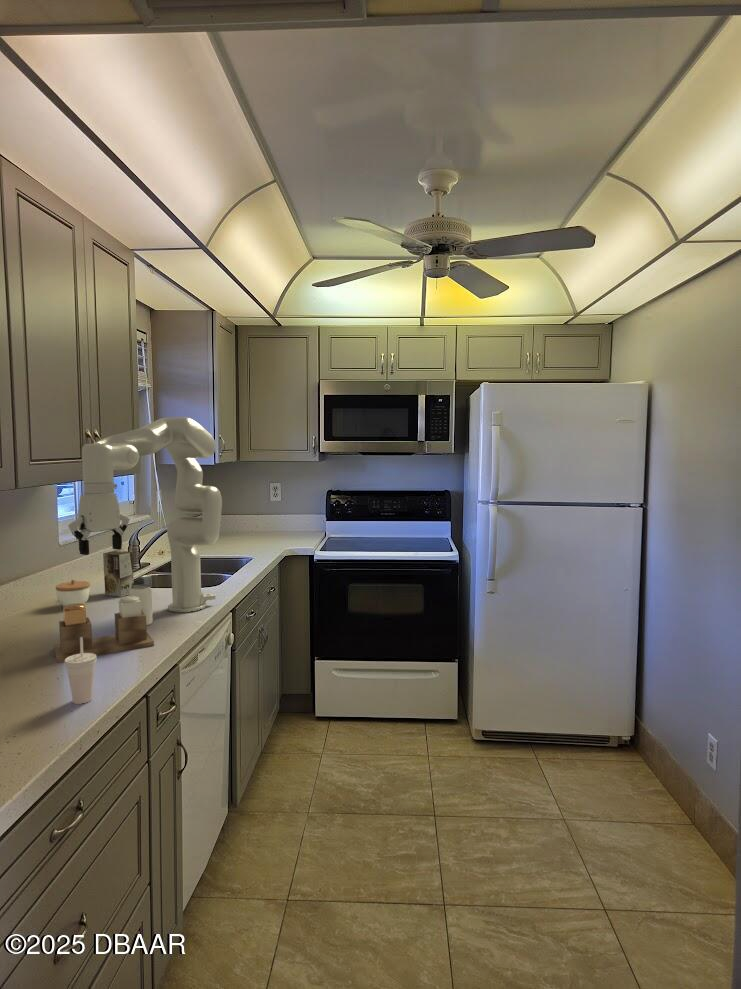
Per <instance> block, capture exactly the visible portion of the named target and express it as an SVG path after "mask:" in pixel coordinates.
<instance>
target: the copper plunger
mask: <svg viewBox="0 0 741 989" xmlns="http://www.w3.org/2000/svg"><path fill="white" fill-rule="evenodd" d="M85 604H86V603H85ZM85 604H82V603H75V604H69V605H66V606H62V608H63V609H62V610H63V612H62V613H63V621H64V627H67V626H73V625H80V624H86V617H87V608H86V606H85Z"/></svg>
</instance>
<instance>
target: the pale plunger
mask: <svg viewBox="0 0 741 989" xmlns="http://www.w3.org/2000/svg"><path fill="white" fill-rule="evenodd" d="M118 613H119V616H120V617H121V618H128V617H134V616H141V601H140V600H139V597H137V596H130V595H128V596H123V597H120V598H119V599H118Z"/></svg>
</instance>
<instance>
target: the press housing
mask: <svg viewBox="0 0 741 989" xmlns="http://www.w3.org/2000/svg"><path fill="white" fill-rule="evenodd" d="M58 624H59V626H58V627H59V643H57V644H53V650H55V651H54V654H55V658H56V662H57V663H62V662H65V659H66V658H67V657H69V656H72V655H75V654H80V637H83V653H93V654H95V655H96V656H102V655H107V654H108V655H109V654H113V653H119V651H120V652H124V651H130V650H135V648H137V649H140V648H141V647H143V648H147V647H146V646H148V647H152V646H151V645H154V646H155V641H154V639H153V638H152V637H151V635H149V634H150V633H148V632H147V627H148V626H146V615H145V614H144V612H143V611H142V610H141V616H134V617H128V618H121V617H120V616H119V612H115V613H114V634H113V635H111V634H110V635H107V636H105V635H104V636H101V637H99V636H98V637H93V634H92V633H93V631H92V622H91V621H90V617H88V616H86V624H80V625H73V626H67V627H64V620H59V621H58ZM141 649H142V648H141Z"/></svg>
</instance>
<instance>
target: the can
mask: <svg viewBox="0 0 741 989" xmlns="http://www.w3.org/2000/svg"><path fill="white" fill-rule="evenodd" d="M129 596H137V597H139V600H140V601H141V610H142V611H143V612H144V614H145V615H146V627H148V626H150V625H152V623H153V621H154V620H153V598H152V596H153V594H152V589H151V586H150V584H134V586H132V587H131V590H130V595H129ZM147 625H148V626H147Z"/></svg>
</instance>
